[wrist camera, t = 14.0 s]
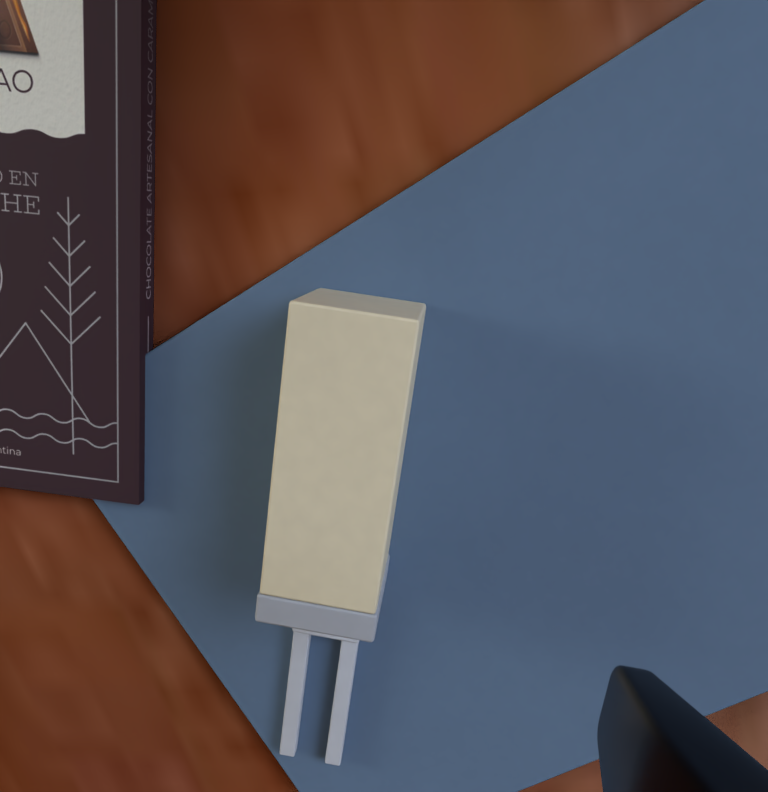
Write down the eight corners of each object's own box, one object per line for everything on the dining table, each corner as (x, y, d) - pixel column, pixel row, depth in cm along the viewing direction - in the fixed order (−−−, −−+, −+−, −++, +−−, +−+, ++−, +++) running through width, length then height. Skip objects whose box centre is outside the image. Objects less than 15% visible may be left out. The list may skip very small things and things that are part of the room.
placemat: (774, -43, 14) (783, -50, 14) (1048, 565, 16) (1062, 573, 16) (46, 418, 18) (37, 422, 18) (349, 849, 21) (347, 860, 20)
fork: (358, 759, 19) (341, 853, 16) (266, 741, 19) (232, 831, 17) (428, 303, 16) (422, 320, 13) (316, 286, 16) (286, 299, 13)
